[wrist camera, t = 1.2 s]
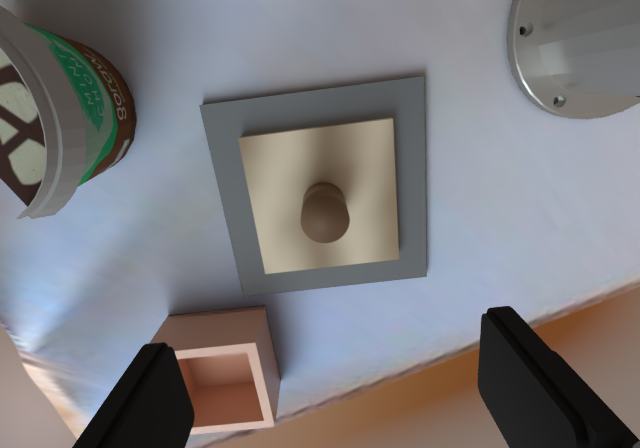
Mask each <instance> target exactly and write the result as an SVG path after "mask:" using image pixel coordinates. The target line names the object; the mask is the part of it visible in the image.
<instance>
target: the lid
mask: <svg viewBox="0 0 640 448" xmlns="http://www.w3.org/2000/svg"><path fill="white" fill-rule="evenodd" d="M238 141H239V146H240V151H241V156H242V161H243V166H244V171H245V176H246V181H247V186H248V191H249V196H250V200H251V205H252V210H253V215H254V220H255V225H256V230H257V235H258V240H259V245H260V250H261V255H262V260H263V265H264V270H265V274H271V273H280V272H289V271H298V270H307V269H316V268H325V267H334V266H343V265H352V264H361V263H370V262H379V261H388V260H397V259H399V245H398V222H397V199H396V176H395V152H394V129H393V118H384V119H376V120H368V121H360V122H352V123H344V124H337V125H329V126H321V127H313V128H305V129H297V130H289V131H281V132H273V133H265V134H257V135H249V136H242V137H239V138H238Z"/></svg>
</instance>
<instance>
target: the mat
mask: <svg viewBox="0 0 640 448" xmlns="http://www.w3.org/2000/svg"><path fill="white" fill-rule="evenodd" d="M199 106H200V110H201V114H202V119H203V123H204V127H205V132H206V136H207V140H208V145H209V149H210V153H211V157H212V162H213V166H214V170H215V175H216V179H217V183H218V188H219V192H220V196H221V200H222V205H223V209H224V213H225V218H226V222H227V226H228V231H229V235H230V239H231V243H232V248H233V252H234V256H235V261H236V265H237V269H238V274H239V278H240V282H241V286H242V291H243V295H244V297H245V296H255V295H264V294H273V293H282V292H291V291H300V290H309V289H318V288H328V287H337V286H346V285H355V284H364V283H373V282H382V281H392V280H401V279H410V278H419V277H427V263H426V179H425V95H424V76H420V77H413V78H405V79H397V80H390V81H382V82H374V83H367V84H359V85H351V86H343V87H336V88H328V89H320V90H313V91H305V92H297V93H290V94H282V95H274V96H267V97H259V98H251V99H244V100H236V101H228V102H220V103H213V104H205V105H199ZM384 118H393V129H394V152H395V176H396V199H397V222H398V245H399V259H397V260H388V261H379V262H370V263H361V264H352V265H343V266H334V267H325V268H316V269H307V270H298V271H289V272H280V273H271V274H265V270H264V265H263V260H262V255H261V250H260V245H259V240H258V235H257V230H256V225H255V220H254V215H253V210H252V205H251V200H250V196H249V191H248V186H247V181H246V176H245V171H244V166H243V161H242V156H241V151H240V146H239V141H238V138H239V137H242V136H249V135H257V134H265V133H273V132H281V131H289V130H297V129H305V128H313V127H321V126H329V125H337V124H344V123H352V122H360V121H368V120H376V119H384Z"/></svg>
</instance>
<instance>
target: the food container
mask: <svg viewBox="0 0 640 448" xmlns="http://www.w3.org/2000/svg"><path fill="white" fill-rule="evenodd" d="M136 122H137V120H136V114H135V107H134V101H133V98H132V95H131V93H130V91H129V89H128V86H127V84H126V82H125V81H124V79H123V78H122V76H121V75H120V73H119V72H118V71H117V70H116V68H115V67H114V66H113V65H112V64H111V63H110V62H109V61H108V60H107V59H105V58H104V57H103V56H102V55H100V54H99V53H98V52H96V51H95V50H93V49H91V48H89V47H87V46H85V45H83V44H81V43H78V42H75V41H72V40H70V39H67V38H64V37H61V36H58V35H56V34H53V33H50V32H47V31H44V30H42V29H39V28H36V27H33V26H30V25H27V24H25V23H22V22H21V21H20V20H19V19H18V18H17V17H16V16H14V15H13V14H12V13H11V12H9V11H8V10H6V9H5V8H3V7H2V6H0V178H1V179H2V180H3V181H4V182H5V183H6V184H7V185H8V187H9V188H10V189H11V190H12V191H13V192H14V193H15V194H16V195H17V196H18V197H19V198H20V199H21V200H22V201H23V202H24V203H25V205H26V206H27V209H26V210H25V211H23V212H22V213H21V214H20V215H19V216H18V217H17V219H20V218H23V217H26V216H29V217H30V218H31V219H34V218H40V217H45V216H51V215H55V214H56V213H57V212H58V211H59V210H60V209H62V208H63V207H64V206H65V205H66V203H67V202H68V201H69V200H70V198H71V197H72V196H73V194H74V193H75V191H76V189H77V187H78V186H80V185H81V184H83V183H85V182H87V181H88V180H90V179H92V178H93V177H95V176H97V175H99V174H100V173H102V172H104V171H106V170H107V169H109V168H111V167H113V166H114V165H115V164H116V163H118V162H119V161H120V160H121V159H122V158H123V157H124V156H125V154H126V153H127V151H128V149H129V147H130V146H131V144H132V142H133V140H134V134H135V128H136Z"/></svg>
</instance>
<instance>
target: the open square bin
mask: <svg viewBox="0 0 640 448" xmlns="http://www.w3.org/2000/svg"><path fill="white" fill-rule="evenodd" d="M161 342H165V343H167V344H168V347H172V348H173V349H174V351H175V354H176V357H177V360H178V363H179V366H180V369H181V372H182V376H183V379H184V382H185V385H186V388H187V391H188V394H189V397H190V400H191V403H192V406H193V409H194V413H195V419H194V424H193V427H192V430H191V432H190V435H193V434H203V433H214V432H224V431H235V430H245V429H256V428H266V427H275V422H276V414H277V406H278V398H279V390H280V383H281V380H280V376H279V371H278V366H277V361H276V357H275V352H274V347H273V342H272V338H271V333H270V328H269V323H268V318H267V314H266V309H265V305H263V306H254V307H245V308H236V309H226V310H217V311H208V312H199V313H189V314H180V315H171V316H168V317H167V318H166V320H165V321H164V322H163V324H162V325H161V327H160V328H159V330H158V331H157V333H156V334H155V336H154V337H153V339H152V340H151V342H150V343H149V344H151V343H161Z"/></svg>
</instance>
